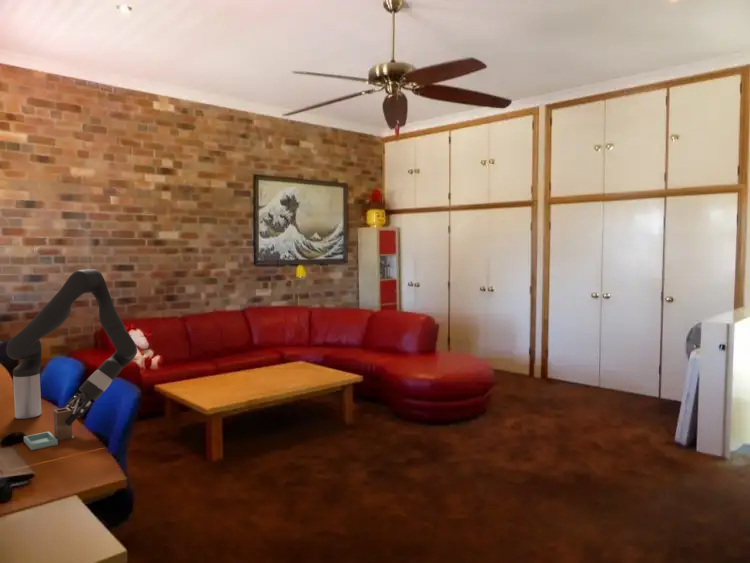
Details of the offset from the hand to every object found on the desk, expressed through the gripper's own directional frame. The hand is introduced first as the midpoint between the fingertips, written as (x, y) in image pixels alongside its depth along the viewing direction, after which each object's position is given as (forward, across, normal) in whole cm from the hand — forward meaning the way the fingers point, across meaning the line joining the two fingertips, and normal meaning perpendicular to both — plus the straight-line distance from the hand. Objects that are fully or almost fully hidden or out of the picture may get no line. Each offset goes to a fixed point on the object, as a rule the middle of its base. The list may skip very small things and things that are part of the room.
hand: (63, 421), depth 202 cm
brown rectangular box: (+4, 0, +4) cm, 6 cm away
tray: (+10, +1, -1) cm, 10 cm away
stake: (+5, 0, +4) cm, 6 cm away
